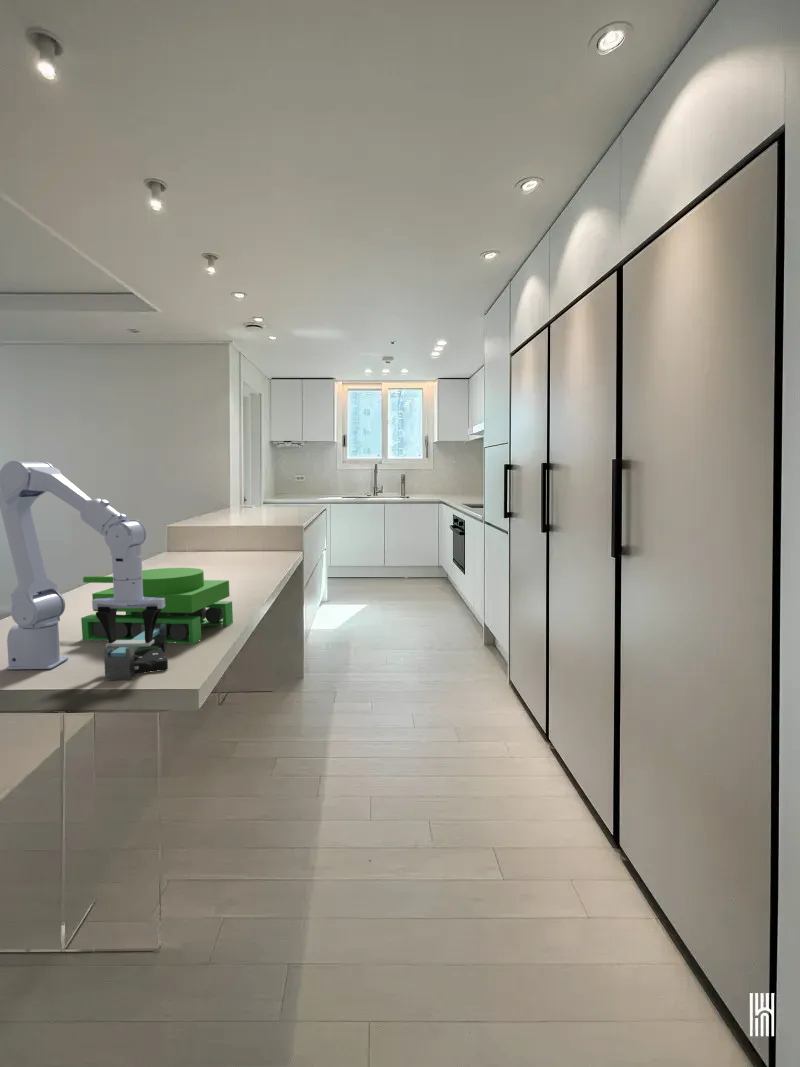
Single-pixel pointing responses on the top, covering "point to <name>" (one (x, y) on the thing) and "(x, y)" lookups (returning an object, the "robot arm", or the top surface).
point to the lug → (119, 665)
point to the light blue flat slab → (131, 643)
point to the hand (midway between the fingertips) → (130, 642)
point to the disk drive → (149, 659)
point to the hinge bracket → (159, 637)
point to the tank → (167, 605)
